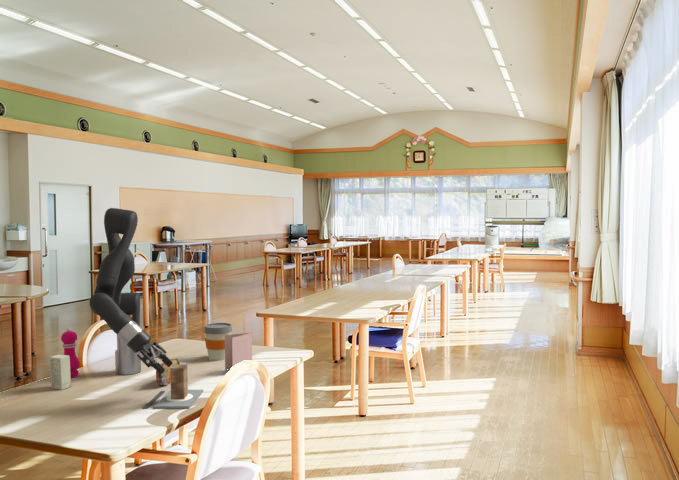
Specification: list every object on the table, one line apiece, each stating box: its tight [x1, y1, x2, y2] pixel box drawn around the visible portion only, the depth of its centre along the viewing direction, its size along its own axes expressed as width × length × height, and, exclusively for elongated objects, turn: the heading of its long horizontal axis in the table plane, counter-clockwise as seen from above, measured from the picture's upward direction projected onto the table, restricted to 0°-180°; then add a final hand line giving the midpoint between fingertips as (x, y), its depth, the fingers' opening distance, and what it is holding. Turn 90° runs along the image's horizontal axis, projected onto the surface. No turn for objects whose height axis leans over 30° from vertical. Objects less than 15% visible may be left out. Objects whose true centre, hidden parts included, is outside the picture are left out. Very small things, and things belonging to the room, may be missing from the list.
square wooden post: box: [170, 364, 189, 399], centre depth 197 cm, size 5×5×11 cm
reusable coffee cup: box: [203, 322, 233, 361], centre depth 255 cm, size 13×13×15 cm
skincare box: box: [49, 353, 72, 390], centre depth 212 cm, size 6×4×12 cm
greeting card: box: [224, 332, 253, 371], centre depth 234 cm, size 11×7×15 cm, turn 110°
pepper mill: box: [60, 327, 80, 379], centre depth 227 cm, size 7×7×20 cm
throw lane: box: [142, 389, 204, 410], centre depth 198 cm, size 16×18×1 cm
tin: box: [155, 358, 181, 386], centre depth 219 cm, size 15×3×8 cm, turn 168°
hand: (167, 368), depth 198 cm, fingers open, 8 cm apart
